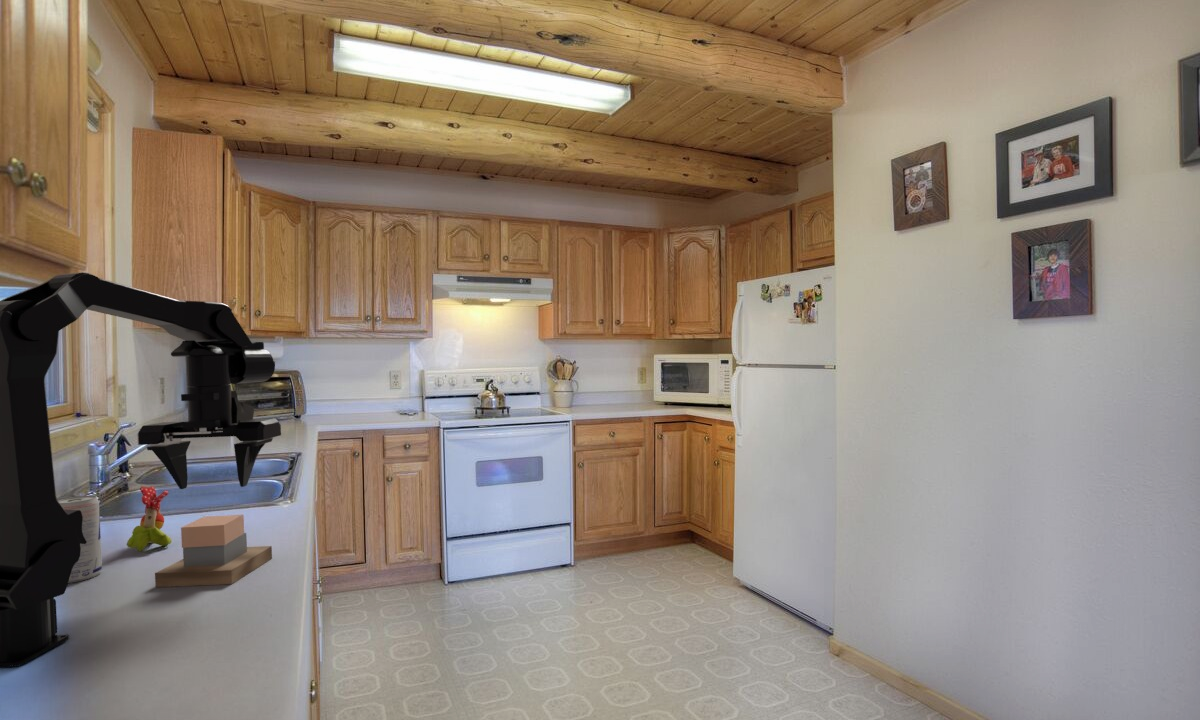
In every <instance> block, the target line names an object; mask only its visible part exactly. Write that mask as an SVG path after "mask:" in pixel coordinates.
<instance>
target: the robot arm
mask: <svg viewBox="0 0 1200 720" xmlns="http://www.w3.org/2000/svg"><path fill="white" fill-rule="evenodd" d="M86 310H87V311H92V312H96V313H101V314H104V315H109V316H114V317H119V318H123V319H127V320H130V321H131V320H132V321H136V322H138V323H139V322H140V323H144V324H149V325H153V326H157V327H159V328H161V329H163V330H165V331H166V332H167V333H168V334H169V335H171V336H173V337H176V338H179V339H181V340H183V341H182V342H181V343H180V344H179V346H177V347H176V348H175V349H174V350H172V351H171V352H170V356H171V357H174V358H177V357H179V358H181V357H183V358H185V377H186V379H185V380H186V393H181V395H180V399H181V400H180V401H181V402H186V403H187V420H186V421H166V422H165V421H164V422H163V421H162V422H158V423H157V422H156V423H151V424H145V425H142V426H141V428H140V429H139V431H138V432H137V445H139V446H140V445H141V446H143V445H149V446H146V450H147V451H152V452H153V454H154V455H156V458H158V459H159V461H160V462H161V463H162V465H163V466H164V467H165V468H166V470H167V471H168V473H169V474H170V476H171V477H172V479H173V481H175V484H176V485H177V486H178V489H179V490H185V489H187V488H188V465H187V464H188V461H187V460H188V459H187V452H188V449H189V447H190V444H191V443H192V442H191V440H182V439H192V438H193V439H195V438H222V437H223V438H224V437H229V438H230V437H236V438H237V439H238V440H239V441H240V442H237V443H233V448H234V449H233V450H234V455H235V462H236V470H237V472H236V473H237V478H238V482H239V485H240V488H243V487H244V488H245V487H246V486H247V485H248V482H249V479H250V477H251V474H252V471H253V469H254V465H255V463H256V460H257V458H258V456H259V453H260V452H261V450H262V448H263V447H264V446H265V445H266V444H267V443H271V442H273V439H274V438H276V437H279V436H282V427H281V423H280V422H279V420H278V419H277V418H275V417H274V418H254V415H255V407H254V406H252V405H249V404H247V403H245V402H243V401H239V398H238V393H237V390H232V385H231V384H233V385H234V384H235V385H238V384H251V383H263V382H267V381H269V380H270V379H271V378H272V376H273V375H274V373H275V369H276V368H275V367H276V361H275V360H274V358H273V356H272V354H271V353H270V351H268V349H265V343H264V341H252V340H251V339H250V338H249V336H248V335H247V333H246V332H245V331H244V328H243V327H242V325H241V324H240V323H239V321H238V320H237V318H236V316H235V314H234V313H233V309H232V308H231V307H230V306H229V305H227V304H225V303H222V302H214V301H212V302H211V301H201V300H197V301H196V300H195V301H194V300H183V299H182V300H180V299H175V298H172V297H168V296H164V295H162V294H157V293H153V292H150V291H146V290H143V289H139V288H136V287H131V286H128V285H124V284H122V283H117V282H114V281H110V280H108V279H104V278H100V277H98V276H96V275H94V274H92V273H89V272H84V271H83V272H82V271H81V272H73V273H61V274H57V275H55V276H53V277H52V278H49V279H48V280H46V281H44V282H42V283H41V284H39V285H36V286H33V287H30V288H28V289H25V290H23V291H20V292H18V293H15V294H12V295H11V296H7V297H5V298H3V299H1V300H0V668H5V667H6V668H7V667H18V666H22V665H24V664H26V663H28V662H30V661H31V660H33V659H35V658H37V657H38V656H41V655H42V654H45V653H46V652H48V651H49V650H52V649H53V648H55V647H57V646H58V645H61V644H63V643H65V642H66V641H68V640H69V639H70V634H57V633H58V618H57V617H58V616H57V601H56V599H55V598H57V597H59V596H62V595H64V594H65V593H66V590H67V587H68V584H69V583H68V581H69V578H70V575H71V571H72V568H73V566H74V564H75V563H77V562H78V561H79V558H80V555H81V544H86V543H87V541H86V540H85V538H84V536H83V533H82V521H83V516H82V513H81V511H80V510H65V509H64V508H63V507H62V506H61V505H60V503H59V502H58V498H57V489H56V480H55V473H54V464H53V463H54V462H53V461H54V460H53V452H52V441H51V430H50V421H49V414H48V413H49V412H48V411H49V410H48V405H47V404H48V403H47V402H48V401H47V393H46V383H45V379H46V376H47V373H48V371H49V369H50V368H51V365H52V363H53V361H54V360H55V358H56V356H57V353H58V344H59V334H60V331H61V330H63V329H65V328H66V327H68V326H69V325H71V324H72V323H74V322H76V321H77V320H79V318H80V317H81V316H82V314H84V312H85V311H86ZM200 429H206V430H202V431H201V430H200Z"/></svg>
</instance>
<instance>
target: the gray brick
mask: <svg viewBox="0 0 1200 720" xmlns="http://www.w3.org/2000/svg"><path fill="white" fill-rule="evenodd" d="M247 545H248V540H247V532H244V534H242V535H241V536H239V537H237V538H236V539H234V540H232V541H231V542H229V543H228V544H226V545H219V546H203V547H187V548H182V557H183V560H184V567H186V566H209V565H225V564H227V563H229V562H230V561H232V560H234V559H235V558H237V557H239V556H241V555H242V554H244V553H246V552H247V547H248V546H247Z"/></svg>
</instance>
